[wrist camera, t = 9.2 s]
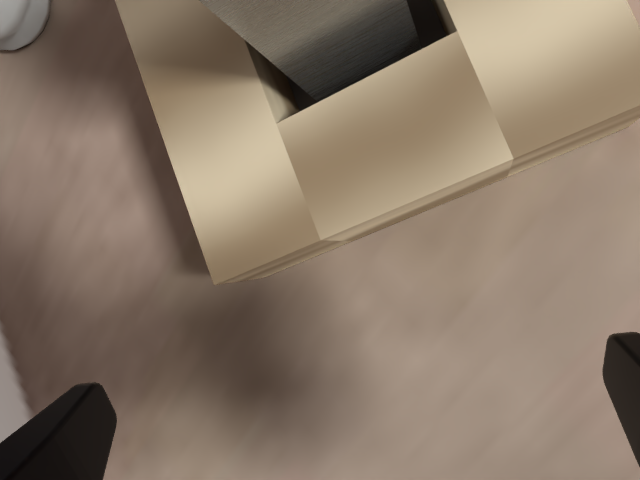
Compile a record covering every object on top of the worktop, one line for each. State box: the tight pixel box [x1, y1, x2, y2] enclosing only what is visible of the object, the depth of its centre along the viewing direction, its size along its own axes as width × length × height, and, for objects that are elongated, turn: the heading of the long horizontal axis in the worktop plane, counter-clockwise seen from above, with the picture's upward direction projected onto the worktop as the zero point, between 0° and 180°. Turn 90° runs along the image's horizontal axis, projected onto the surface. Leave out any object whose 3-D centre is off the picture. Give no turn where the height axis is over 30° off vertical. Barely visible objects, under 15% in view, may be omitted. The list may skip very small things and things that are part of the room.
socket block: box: [115, 0, 640, 285], centre depth 17 cm, size 14×14×4 cm
